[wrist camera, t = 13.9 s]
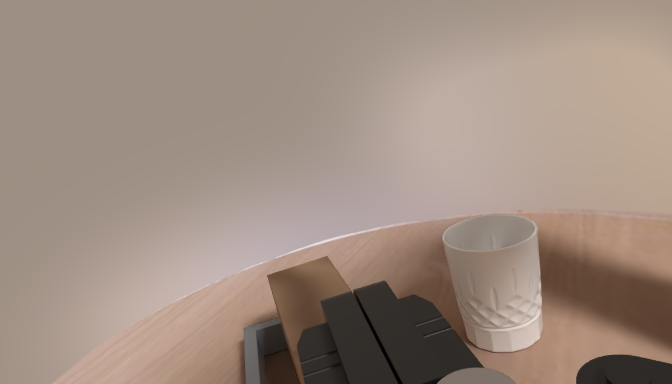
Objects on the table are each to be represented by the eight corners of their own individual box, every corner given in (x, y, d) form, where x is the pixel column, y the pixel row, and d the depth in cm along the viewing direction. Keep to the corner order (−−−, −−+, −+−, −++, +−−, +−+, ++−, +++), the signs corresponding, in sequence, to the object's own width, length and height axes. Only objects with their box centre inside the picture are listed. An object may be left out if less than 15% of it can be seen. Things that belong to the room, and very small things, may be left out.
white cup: (480, 368, 42) (462, 260, 39) (447, 321, 50) (429, 228, 47) (568, 342, 43) (556, 234, 40) (522, 299, 50) (509, 206, 48)
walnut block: (347, 335, 52) (327, 256, 49) (397, 425, 38) (373, 323, 36) (290, 355, 50) (267, 275, 48) (322, 455, 37) (292, 351, 35)
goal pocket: (385, 311, 54) (370, 243, 52) (464, 439, 35) (445, 342, 33) (249, 353, 52) (228, 285, 50) (258, 512, 34) (224, 413, 31)
